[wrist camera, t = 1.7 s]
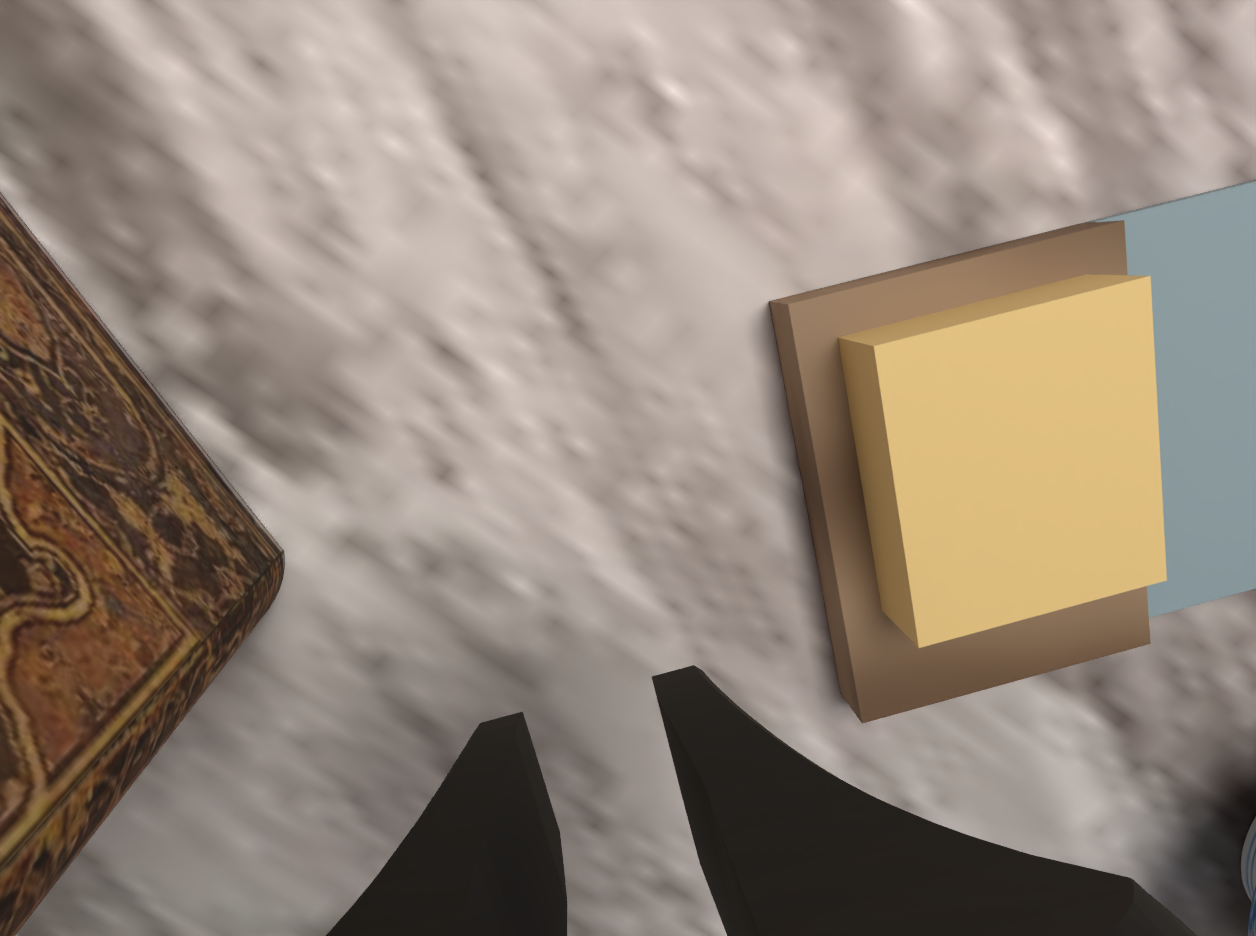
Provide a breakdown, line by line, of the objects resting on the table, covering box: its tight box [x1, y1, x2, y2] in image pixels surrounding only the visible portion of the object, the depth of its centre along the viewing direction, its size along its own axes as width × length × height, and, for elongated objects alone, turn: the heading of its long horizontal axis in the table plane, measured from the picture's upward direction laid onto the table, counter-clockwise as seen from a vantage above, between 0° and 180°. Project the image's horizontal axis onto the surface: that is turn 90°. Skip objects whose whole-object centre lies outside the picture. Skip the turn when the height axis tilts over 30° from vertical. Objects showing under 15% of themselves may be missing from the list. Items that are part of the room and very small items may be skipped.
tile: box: [838, 275, 1167, 648], centre depth 18 cm, size 7×6×2 cm
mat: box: [1085, 180, 1256, 618], centre depth 21 cm, size 11×8×1 cm
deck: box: [769, 220, 1150, 723], centre depth 20 cm, size 11×8×2 cm
